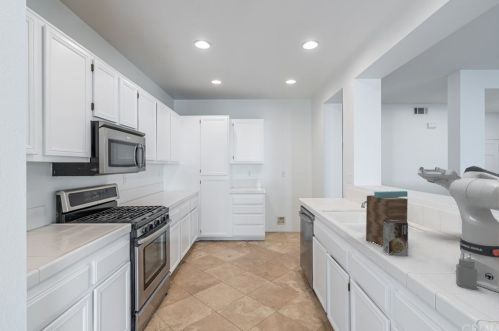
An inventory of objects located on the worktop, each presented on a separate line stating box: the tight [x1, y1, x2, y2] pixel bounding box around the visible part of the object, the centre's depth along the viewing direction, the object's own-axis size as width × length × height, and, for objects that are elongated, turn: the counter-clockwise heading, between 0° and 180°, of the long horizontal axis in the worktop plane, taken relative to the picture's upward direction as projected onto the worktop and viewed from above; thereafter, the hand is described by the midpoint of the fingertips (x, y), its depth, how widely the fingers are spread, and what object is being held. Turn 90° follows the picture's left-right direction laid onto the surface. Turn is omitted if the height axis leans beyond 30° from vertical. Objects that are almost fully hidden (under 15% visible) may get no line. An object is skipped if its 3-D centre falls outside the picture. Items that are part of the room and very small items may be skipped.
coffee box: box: [382, 220, 409, 257], centre depth 122 cm, size 9×6×16 cm
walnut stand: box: [365, 194, 409, 247], centre depth 136 cm, size 16×12×26 cm
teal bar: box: [373, 190, 409, 198], centre depth 137 cm, size 3×21×3 cm, turn 108°
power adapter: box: [455, 253, 478, 291], centre depth 89 cm, size 3×5×12 cm, turn 62°
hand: (427, 168), depth 142 cm, fingers open, 8 cm apart
